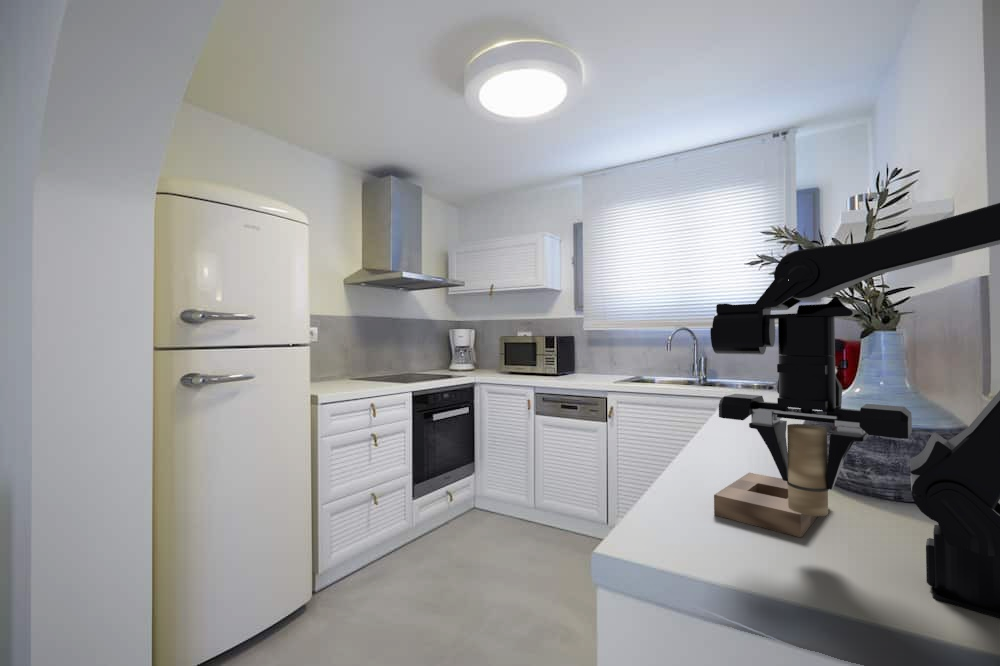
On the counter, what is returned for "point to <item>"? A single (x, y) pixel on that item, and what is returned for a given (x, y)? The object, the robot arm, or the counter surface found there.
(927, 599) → the counter surface
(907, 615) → the counter surface
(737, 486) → the walnut board
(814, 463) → the oak peg
